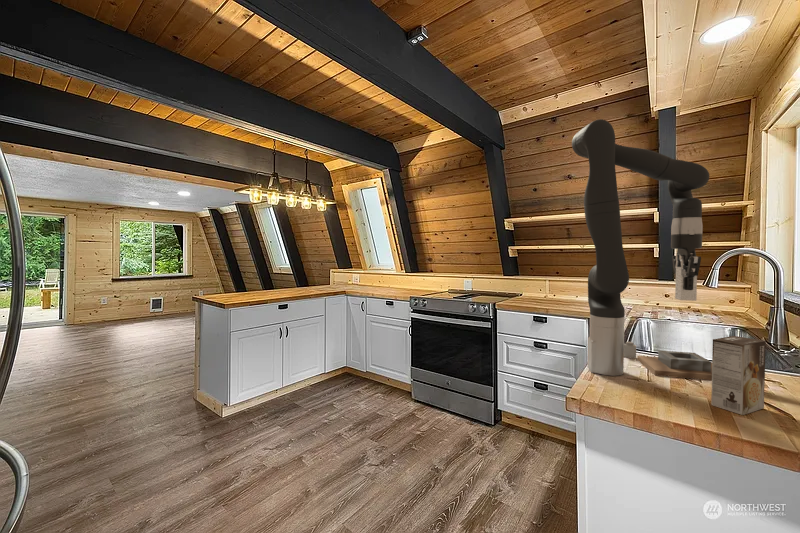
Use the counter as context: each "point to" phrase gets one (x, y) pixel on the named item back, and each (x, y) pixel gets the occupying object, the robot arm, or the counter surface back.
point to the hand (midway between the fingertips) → (685, 288)
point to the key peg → (679, 287)
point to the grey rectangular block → (629, 350)
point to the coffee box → (738, 374)
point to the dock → (671, 372)
